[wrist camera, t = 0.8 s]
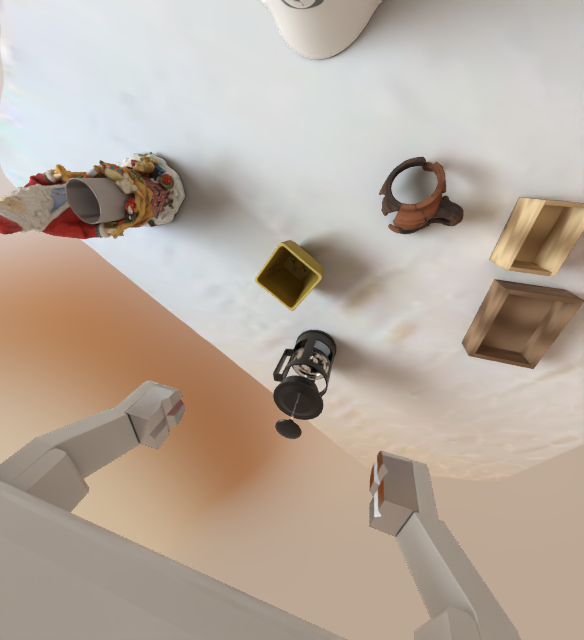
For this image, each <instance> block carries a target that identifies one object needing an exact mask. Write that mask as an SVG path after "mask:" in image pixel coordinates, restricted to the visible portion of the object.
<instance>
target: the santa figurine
mask: <svg viewBox="0 0 584 640" xmlns="http://www.w3.org/2000/svg"><path fill="white" fill-rule="evenodd" d="M100 164H101V165H99V166H96V165H94V166H93V167H92V168H91V169H90V170H89V171H88V172H70V171H66V170H65V168H64V167H63V166H61V165H56V170H52V169H51V170H48V171H46V172H45V173H43V174H40V173H38V174H37V175H36V176H30V181H29V183H28V184H27V185H25V186H24V187H18V188H17V190H16V191H11V192H10V194H8V195H6V196H5V197H2V198H1V200H0V233H2V234H12V233H14V232H19V231H20V232H28V231H29V230H31V231H34V232H41V231H42V232H44V233H46V234H50V235H54V236H62V237H71V238H79V239H88V238H93V237H100V238H101V237H105V238H107V237H110V236H113V238H114V239H115V238H117V237H118V236H124V235H123V232H124V231H123V230H125V229H127V228H129V227H141V226H152V227H153V226H156V225H160V224H166V223H168V222H170V221H172V220H173V218H174V216H175V215H176V213H177V212H178V210H179V207H180V205H181V203H182V201H183V200H184V198H185V193H184V188H183V184H182V182H181V180H180V178H179V175H178V174H177V173H176V172H175V171H174V170H173V169H172V168H171V167H170V166H169V165H168V164H167V163H166V161H165V160H164V159H162V158H159V157H157V156H156V155H154V154H153V153H152V152H150V153H149V154H133V155H130V156H129V158H125V159H124V160H123V162H122V163H119V162H118V163H117V164H116V165H114V164H110V163H105V162H103V161H101V160H100Z"/></svg>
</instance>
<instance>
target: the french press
mask: <svg viewBox="0 0 584 640" xmlns="http://www.w3.org/2000/svg"><path fill="white" fill-rule="evenodd" d="M307 339H308V341H307V343H306V346H305V347H302V348H301V344H302V341H303V340H307ZM316 340H318V341H321V342H323V343H324V344H325V345H327V346H328V347H329V349H330V354H329V355H328V356H326V355H325V354H324V353H323V352H322V351H320V350H319V349H317V348H314V345H315V342H316ZM335 354H336V345H335V342H334V340H333V339H332V338H331V337H330V336H329V335H328V334H326V333H324V332H322V331H319V330H308V331H305V332H303V333H302V334H301V335H300V336H299V337H298V339H297V341H296V345H295V347H294V349H285V351H284V353H283V355H282V357H281V359H280V361H279V363H278V365H277V367H276V369H275V371H274V373H273V376H274V380H275V381H280V382H281V383H280V384H279V385H278V386H277V387H276V389H275V390H274V394H273V395H274V401H275V403H276V405H277V406H278V408H279V409H280V410H281V411H282V412H284V413H285V414H287V415H289V416H291V419H289V420H279V421H278V422H277V423H276V430H277V431H278V432H279V434H281V435H282V436H284V437H286V438H289V439H296V438H298V437H300V435H301V429H300V428H299V426H298V425H297V424H296V423H294V422H293V418H296V419H303V420H309V419H313V418H315V417H317V416H319V415H320V413H321V412H322V410H323V400H322V396H323V395H324V394H325V393H326V390H327V387H328V382H329V378H330V373H331V368H332V364H333V359H334V356H335ZM287 356H291V357H290V359H289V362H288V364H287V366H286V367H285V369H284V371H283V374H279V372H280V370H281V368H282V365H283V363H284V361H285V359H286V357H287ZM291 366H292V367H293V369H294V370H295V372H296V373H297V374H299V375H300V376H289V377H287V378H286V376H287V374H288V371H289V369H290V367H291ZM327 374H328V375H327ZM322 378H325V381H326V388H325V389H324V390H323V391H322V392H320V393H319V391H318V388H317V386H316V384H315V383H314V382H315V380H318V379H322Z"/></svg>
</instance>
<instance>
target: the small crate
mask: <svg viewBox="0 0 584 640" xmlns="http://www.w3.org/2000/svg"><path fill="white" fill-rule="evenodd" d="M583 231H584V203H578V202H568V201H557V200H545V199H533V198H521V197H519V199H518V201H517V203H516V205H515V207H514V209H513V211H512V213H511V215H510V217H509V219H508V222H507V224H506V226H505V228H504V230H503V232H502V234H501V236H500V238H499V240H498V242H497V244H496V246H495V248H494V251H493V253H492V255H491V257H490V259H489V260H491V261H492V262H494V263H495V264H497V265H498V266H500V267H501V268H503V269H504V270H509V271H516V272H524V273H531V274H538V275H546V276H553V277H554V276H555V275H556V273H557V271H558V270H559V268H560V267H561V265H562V264H563V262H564V260H565V259H566V257H567V256H568V254H569V253H570V251H571V250H572V248H573V246H574V245H575V243H576V242H577V240H578V239H579V237H580V236H581V234H582V232H583Z"/></svg>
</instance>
